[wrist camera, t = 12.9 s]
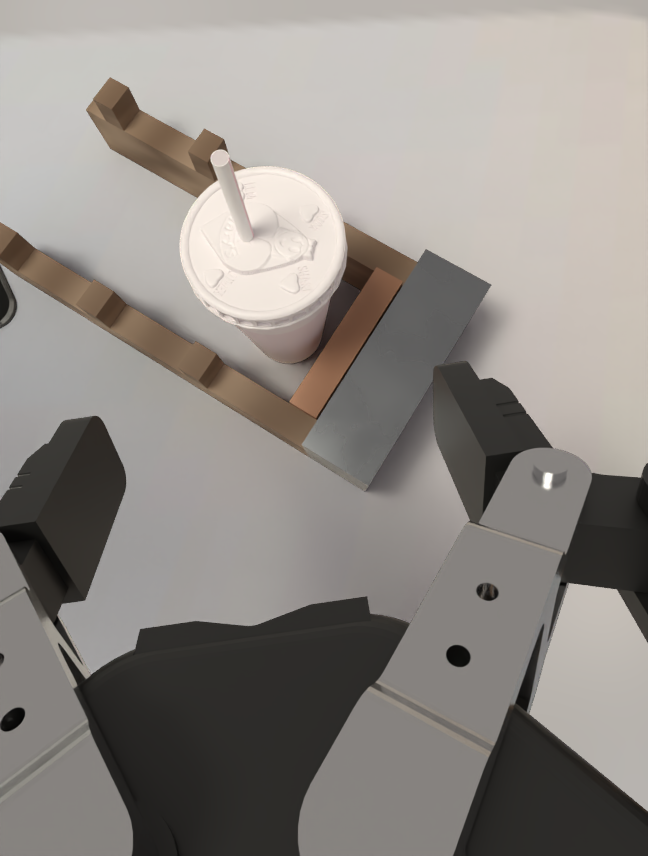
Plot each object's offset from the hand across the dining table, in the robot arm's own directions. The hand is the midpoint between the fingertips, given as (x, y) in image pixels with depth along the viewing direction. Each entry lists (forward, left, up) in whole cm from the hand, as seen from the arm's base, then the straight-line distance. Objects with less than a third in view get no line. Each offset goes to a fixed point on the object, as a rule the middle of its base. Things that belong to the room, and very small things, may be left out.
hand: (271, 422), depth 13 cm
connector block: (+1, +6, -15) cm, 16 cm away
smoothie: (-5, +6, -15) cm, 17 cm away
